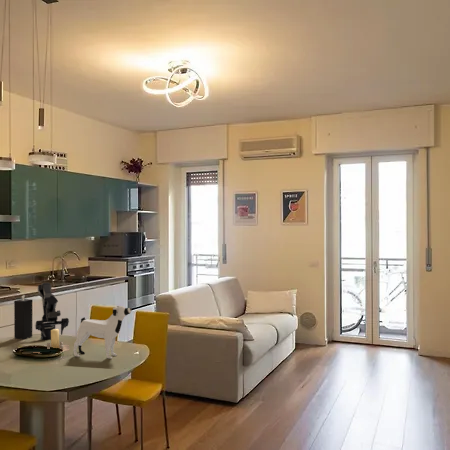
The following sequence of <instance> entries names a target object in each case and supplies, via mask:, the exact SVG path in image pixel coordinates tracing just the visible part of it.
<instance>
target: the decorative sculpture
mask: <svg viewBox="0 0 450 450" xmlns="http://www.w3.org/2000/svg"><path fill="white" fill-rule="evenodd" d="M131 312H132V308H131V307H125V306H123V305H122V306H121V305H118V306H114V307H112V314H111V315H110V316H109V317H108V318H107V319H105V320H104V319H101V320H100V319H87V318H85V317H82V318H81V319H80V325H79V327H78V330H77V333H76V340H75V341H74V342H73V354H74V357H77V358H79V357H80V354H82V355H84V354H85V351H83V350H82V345H83V344H84V343H85V342H86V341H87V340H88V338H89V337H90V336H91V337H95V338H99V339H104V349H105V354H106V358H107V359H110V360H111V359H113V356H114V357H117V356H118V355H117V353H115V352H114V347H115V343H116V337H118V335H119V334H120V331H121V327H122V324H123V321H124V318H125V317H127V316H128V315H130V314H131ZM77 349H78V352H77Z"/></svg>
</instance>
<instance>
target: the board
mask: <svg viewBox="0 0 450 450" xmlns="http://www.w3.org/2000/svg"><path fill="white" fill-rule="evenodd" d="M46 347H47V349H50V347H51V342H50V343H49V342H48V343H47V344H46ZM59 348H60V349H62V350H63V351H62V352H66V351H68V352H69V351H70V345H69V344H64V343H63V341H62V342H61V341H59ZM33 353H38V354H41V353H40V352H33Z"/></svg>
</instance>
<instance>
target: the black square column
mask: <svg viewBox="0 0 450 450" xmlns="http://www.w3.org/2000/svg"><path fill="white" fill-rule="evenodd" d="M25 297H26V295H25V294H23V295H21V299H17V300H14V301H13V304H14V305H13V306H14V307H13V310H14V313H13V314H14V315H13V316H14V319H13V320H14V323H13V324H14V329H13V330H14V331H13V332H14V335H13V337H14V339H15V340H26V339H29V338H32V337H33V299H29V298H28V299H27V298H25Z"/></svg>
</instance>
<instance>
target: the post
mask: <svg viewBox="0 0 450 450" xmlns="http://www.w3.org/2000/svg"><path fill="white" fill-rule="evenodd" d="M59 345H60V329H59V328H55V329H53V330H51V339H50V346H51V347H53V348H59Z"/></svg>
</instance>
